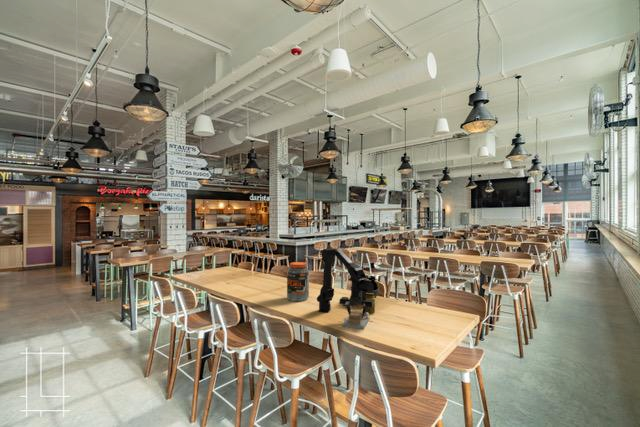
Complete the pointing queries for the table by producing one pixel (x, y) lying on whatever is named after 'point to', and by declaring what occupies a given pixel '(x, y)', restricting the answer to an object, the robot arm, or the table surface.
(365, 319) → the chassis
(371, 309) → the condiment
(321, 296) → the robot arm
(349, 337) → the table surface
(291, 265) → the supplement tub
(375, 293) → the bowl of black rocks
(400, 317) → the table surface
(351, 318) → the block
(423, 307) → the table surface
